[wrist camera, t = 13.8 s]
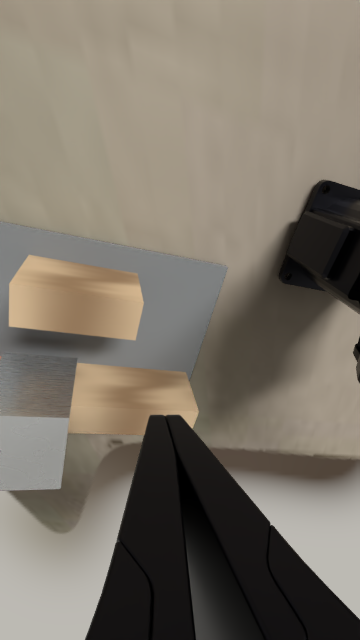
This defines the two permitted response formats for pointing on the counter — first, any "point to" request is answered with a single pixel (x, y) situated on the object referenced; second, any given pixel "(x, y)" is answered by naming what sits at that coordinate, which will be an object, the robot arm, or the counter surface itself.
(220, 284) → the mat
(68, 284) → the block
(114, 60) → the counter surface
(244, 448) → the counter surface
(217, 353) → the counter surface
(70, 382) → the rough concrete cube
